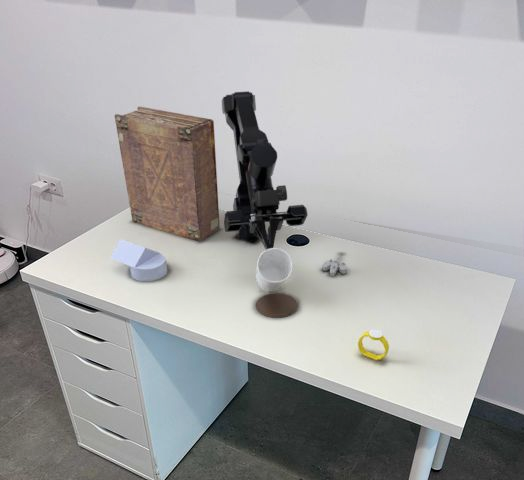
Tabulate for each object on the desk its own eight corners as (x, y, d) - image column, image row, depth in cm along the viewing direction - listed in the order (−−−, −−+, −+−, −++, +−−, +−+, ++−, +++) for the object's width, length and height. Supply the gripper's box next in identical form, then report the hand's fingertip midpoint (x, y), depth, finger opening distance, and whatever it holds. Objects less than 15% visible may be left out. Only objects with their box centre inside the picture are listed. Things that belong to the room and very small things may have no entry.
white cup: (284, 295, 127) (291, 284, 118) (251, 292, 127) (255, 280, 117) (287, 264, 129) (294, 250, 119) (254, 260, 128) (258, 245, 118)
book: (131, 221, 158) (113, 114, 139) (152, 210, 164) (137, 105, 145) (200, 242, 147) (190, 128, 129) (220, 229, 153) (213, 119, 135)
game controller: (323, 276, 132) (323, 267, 131) (320, 254, 141) (320, 245, 140) (346, 276, 132) (347, 267, 131) (341, 254, 141) (342, 245, 140)
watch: (354, 355, 108) (357, 331, 104) (360, 348, 110) (363, 324, 106) (382, 365, 106) (386, 341, 102) (388, 357, 107) (392, 333, 104)
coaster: (270, 290, 128) (270, 289, 128) (305, 302, 123) (305, 301, 123) (247, 309, 122) (247, 308, 121) (283, 322, 117) (283, 321, 117)
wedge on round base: (112, 270, 136) (149, 285, 130) (107, 246, 132) (145, 260, 126) (137, 255, 142) (174, 269, 136) (133, 232, 137) (171, 245, 132)
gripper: (222, 175, 115) (232, 244, 113) (306, 169, 118) (318, 236, 115) (220, 199, 126) (229, 262, 124) (297, 192, 129) (307, 254, 126)
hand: (270, 253), depth 122 cm, fingers closed
